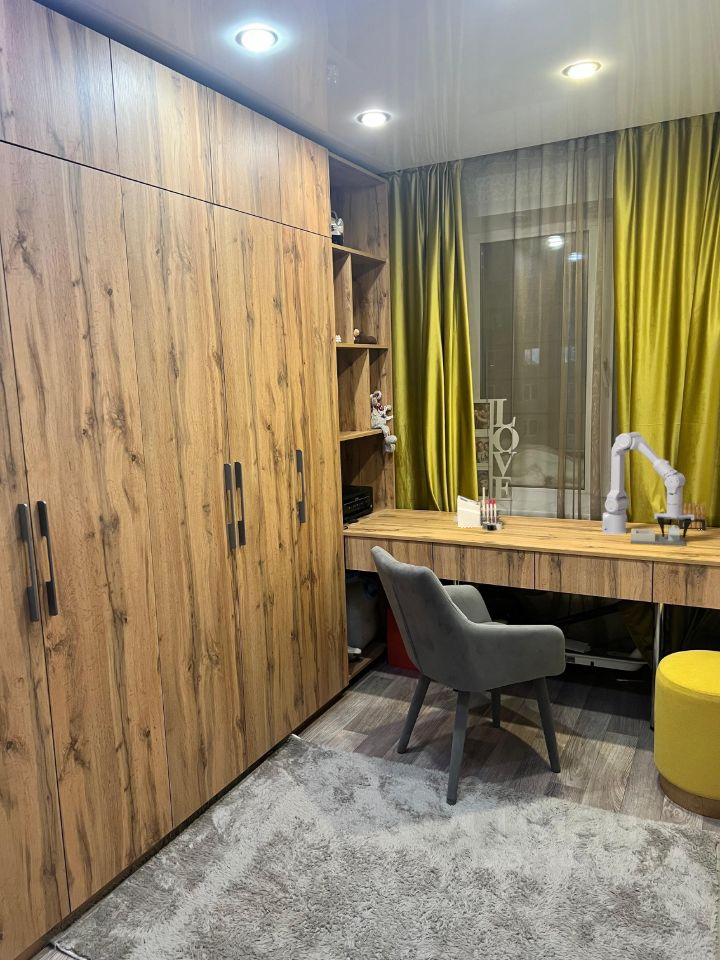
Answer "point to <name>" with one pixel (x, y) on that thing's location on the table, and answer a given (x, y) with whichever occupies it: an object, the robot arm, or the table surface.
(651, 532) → the servo chassis
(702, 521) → the ammunition clip
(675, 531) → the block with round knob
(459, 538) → the table surface
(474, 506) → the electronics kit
